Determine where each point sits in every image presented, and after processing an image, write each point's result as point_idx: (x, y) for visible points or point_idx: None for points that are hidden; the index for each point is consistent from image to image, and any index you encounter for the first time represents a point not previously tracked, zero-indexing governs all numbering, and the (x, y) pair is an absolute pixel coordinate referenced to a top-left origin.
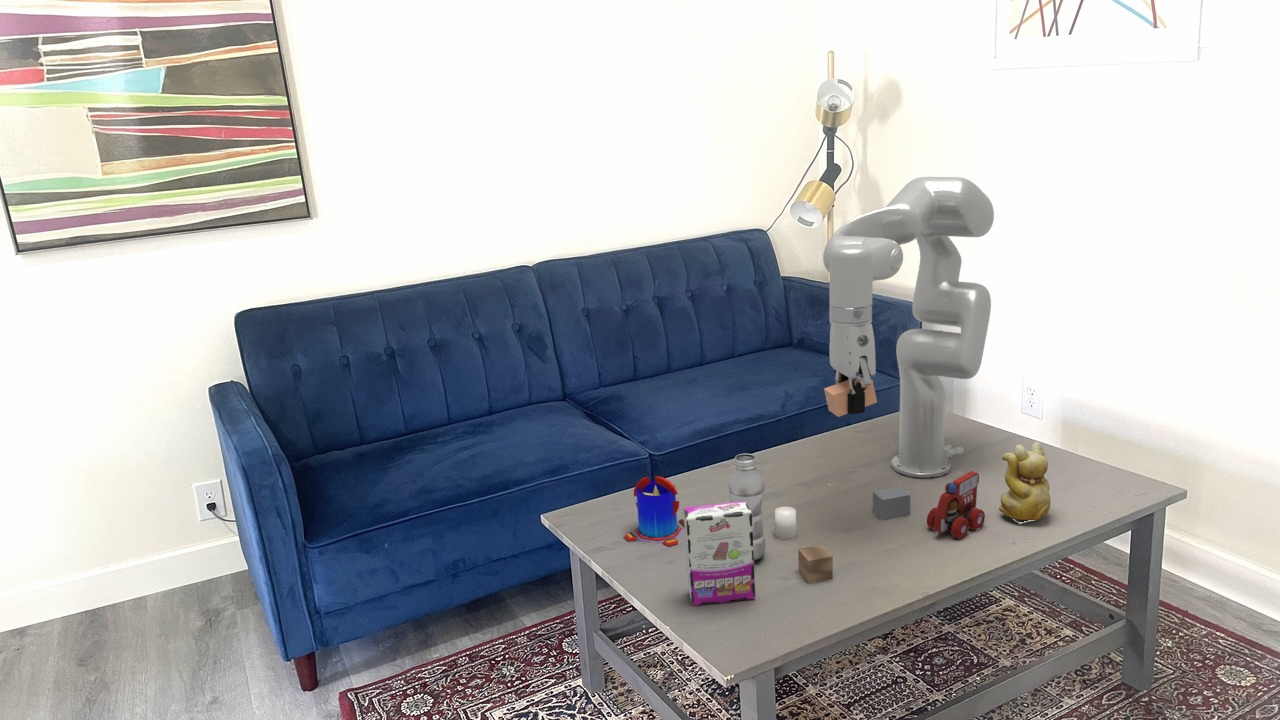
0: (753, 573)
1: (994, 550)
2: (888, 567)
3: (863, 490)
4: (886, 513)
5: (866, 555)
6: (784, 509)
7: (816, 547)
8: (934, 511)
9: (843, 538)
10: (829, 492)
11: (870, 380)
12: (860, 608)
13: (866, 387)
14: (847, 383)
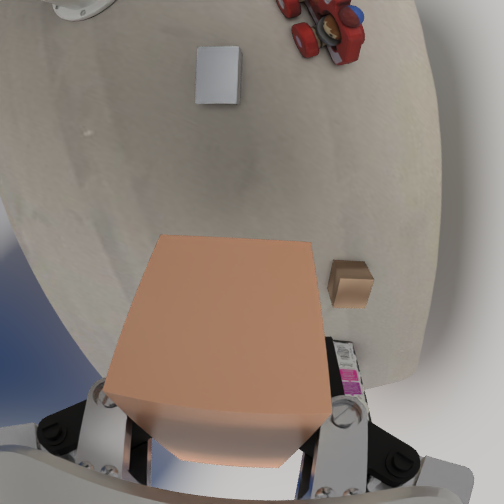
0: (357, 364)
1: (398, 25)
2: (378, 183)
3: (125, 86)
4: (239, 96)
5: (336, 191)
6: None
7: (343, 287)
8: (312, 42)
9: (274, 194)
10: (114, 143)
11: (471, 487)
12: (425, 263)
13: (409, 448)
14: (203, 446)
